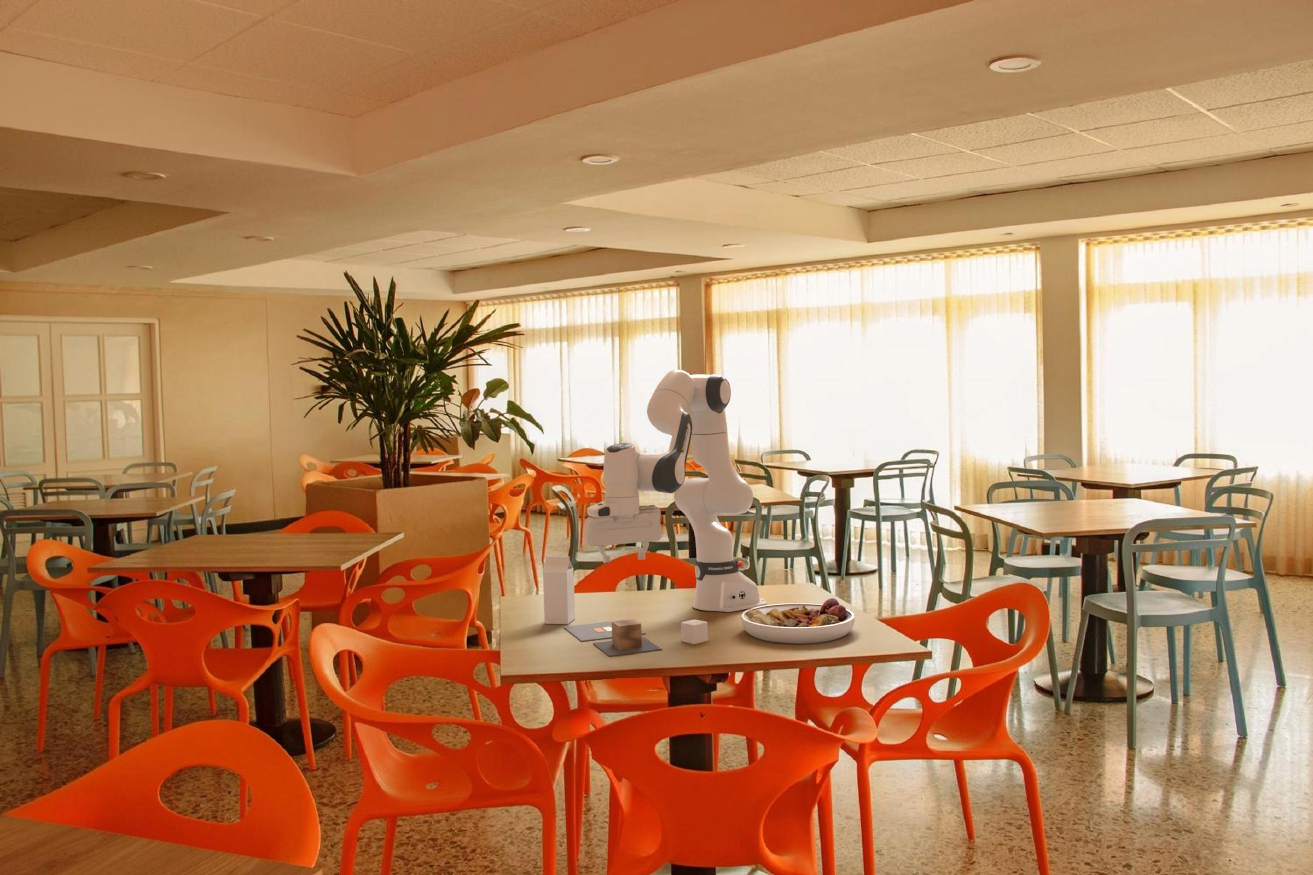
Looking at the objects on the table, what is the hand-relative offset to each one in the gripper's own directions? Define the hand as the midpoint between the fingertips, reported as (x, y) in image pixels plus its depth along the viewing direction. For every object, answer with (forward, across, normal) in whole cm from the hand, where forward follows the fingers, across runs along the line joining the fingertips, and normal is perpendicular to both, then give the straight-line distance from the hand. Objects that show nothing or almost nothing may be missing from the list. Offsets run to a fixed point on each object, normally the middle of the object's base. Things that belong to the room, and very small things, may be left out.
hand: (624, 560), depth 257 cm
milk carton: (+23, +8, -37) cm, 44 cm away
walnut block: (+22, 0, 0) cm, 22 cm away
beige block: (+22, -18, +2) cm, 29 cm away
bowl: (+23, -46, +6) cm, 52 cm away
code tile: (+22, 0, -20) cm, 30 cm away
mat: (+22, 0, 0) cm, 22 cm away
